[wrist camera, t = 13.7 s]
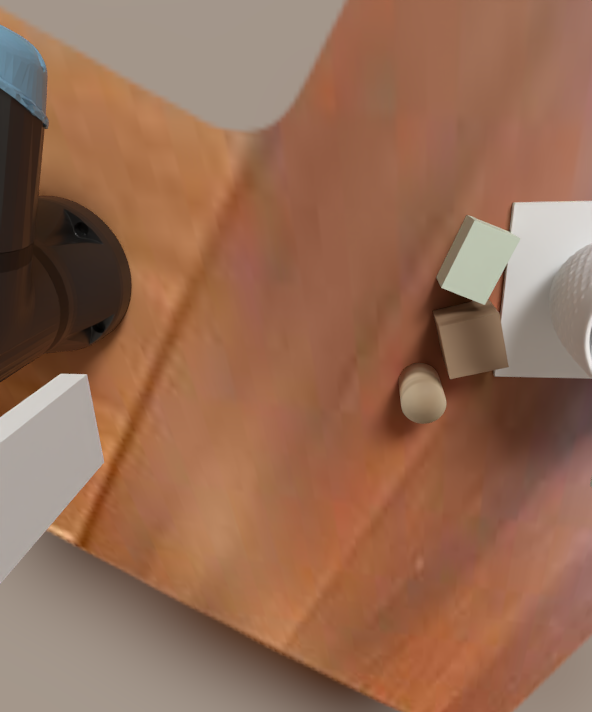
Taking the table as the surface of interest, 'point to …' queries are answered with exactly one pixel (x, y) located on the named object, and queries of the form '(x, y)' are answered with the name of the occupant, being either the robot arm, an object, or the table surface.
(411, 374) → the beech cylinder
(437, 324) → the walnut block
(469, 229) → the sage block
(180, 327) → the table surface
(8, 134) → the robot arm
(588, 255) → the mug
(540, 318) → the pad
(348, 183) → the table surface
